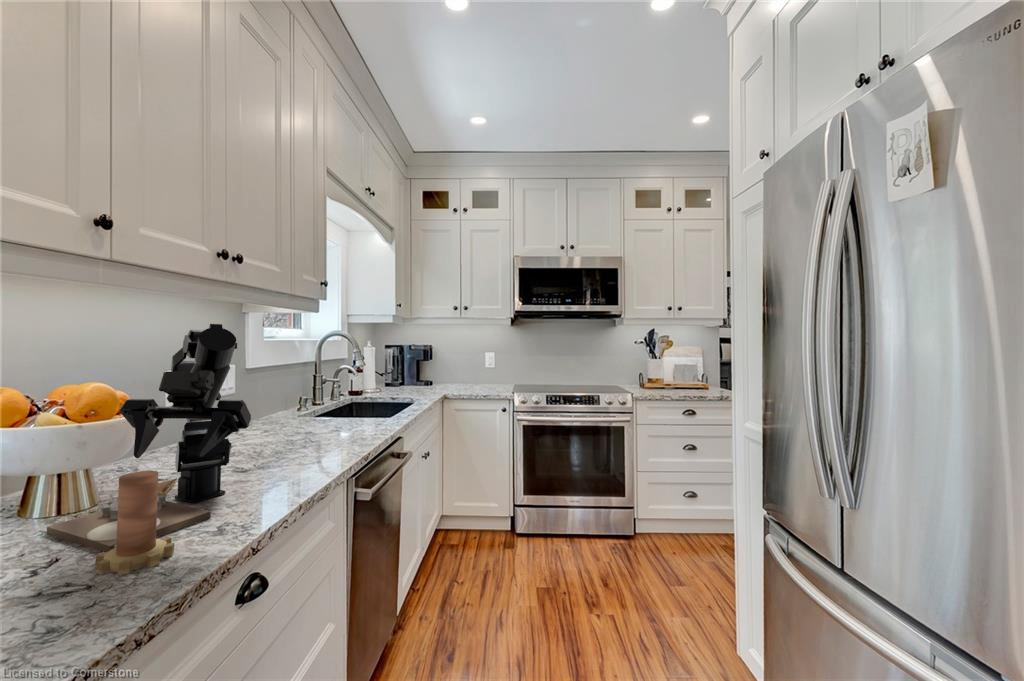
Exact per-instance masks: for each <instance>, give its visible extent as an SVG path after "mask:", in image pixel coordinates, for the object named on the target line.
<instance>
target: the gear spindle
mask: <svg viewBox="0 0 1024 681" xmlns="http://www.w3.org/2000/svg"><path fill="white" fill-rule="evenodd" d="M158 483H159V472H158V471H157V470H141V471H134V472H130V473H125V474H122V475H120V476H118V496H117V497H118V498H117V500H118V519H117V545H114V549H112V550H110V551H108V552H99V553H97V555H96V556H95V566H94V567H95V568H96V574H97V575H100V576H103V575H104V573H105V574H107V572H108V573H118V576H122V575H128V574H130V573H131V572H132V571H133V570H137V569H142V568H145V567H148V568H153V567H155V566H157V565H160V562H161V561H160V560H162V559H163V558H166V557H172V556H173V555H174V554H175V542H172V537H170V536H165V537H163V538H157V537H156V525H157V495H158ZM96 566H97V567H96Z"/></svg>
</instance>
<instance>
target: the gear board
mask: <svg viewBox="0 0 1024 681" xmlns="http://www.w3.org/2000/svg"><path fill="white" fill-rule="evenodd" d="M107 503H108V505H105V506H102V510H101V511H98V512H94V513H90V514H87V515H84V516H80V517H76V518H74V519H70V520H66V521H65V520H64V521H62V522H59V523H55V524H52V525H48V526H46V535H49V536H51V537H56V538H58V539H61V540H65V541H67V542H72V543H75V544H77V545H81V546H83V545H84V547H86V546H87V547H86V548H89V547H91V548H90V549H92V548H93V550H96V551H99V550H100V552H101V553H103V552H108V551H110V550H112V549H114V545H117V519H118V499H115V500H114V499H113V500H111V501H109V502H107ZM207 518H208V519H210V518H211V510H207V509H203V508H198V507H194V506H190V505H186V504H180V503H177V502H174V501H173V502H172V501H168V500H166V496H165V495H163V496H157V525H156V538H158V537H161V536H164V535H166V534H168V533H172V532H174V531H177V530H180V529H183V528H186V527H188V526H191V525H194V524H197V523H199V521H200V522H203V521H205V520H208V519H207ZM202 520H203V521H202Z"/></svg>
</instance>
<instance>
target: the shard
mask: <svg viewBox="0 0 1024 681" xmlns="http://www.w3.org/2000/svg"><path fill="white" fill-rule="evenodd" d="M176 481H178V478H177V477H175V478H173V479H170V480H166V481H162V482H158V495H157V496H163V495H165V497H166V496H167V493H168V492H169V491H171V490H172V489H173V488H174V487H175V485H176ZM174 484H175V485H174ZM173 486H174V487H173ZM172 487H173V488H172Z"/></svg>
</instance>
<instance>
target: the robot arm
mask: <svg viewBox="0 0 1024 681" xmlns="http://www.w3.org/2000/svg"><path fill="white" fill-rule="evenodd" d="M208 327H209V328H206V329H190V330H189V331H188V332H187V334H185V335H184V337H183V338H184V339H183V340H182V342H183V343H182V348H180V349H179V350H178V351H177V352H175V354H173V356H172V358H171V364H170V366H171V367H170V371H164V372H163V375H162V378H161V380H160V384H159V387H158V391H159V392H164V393H165V394H167V396H166V400H167V402H168V403H170V404H171V403H172V406H159V404H158V403H157V401H155V399H154V398H129V399H126V400H125V401H124V402H123V404H122V406H120V408H119V411H118V412H119V413H120V414H121V415H122V416H123V417H124V419H125V420H126V421H127V422H128V424H129V425H130V426H131V427H132V428H134V447H133V457H135V458H136V459H140V458H141V456H142V455H143V454H144V453H145V452H146V451H147V450H148V448H149V446H150V445H151V444H152V443H153V441H154V439H155V438H156V437H157V435H158V433H160V429H159V428H158V427H160V426H162V423H163V422H164V419H166V420H167V419H168V420H169V419H173V420H175V419H176V420H177V419H179V420H181V419H186V421H187V422H185V423H184V426H183V430H182V432H181V441H178V442H177V445H176V451H175V457H174V458H175V463H174V465H175V466H174V467H175V470H176V473H180V477H178V478H177V494H176V495H174V499H175V500H179V501H185V502H189V503H193V504H194V503H195V504H196V503H200V502H202V501H206V500H209V499H212V498H215V497H217V496H221V495H225V494H226V490H223V489H221V481H222V480H221V479H222V467H223V466H224V467H226V466H228V464H230V454H231V449H232V442H231V441H230V440H229V436H230V435H232V434H233V433H238V432H239V431H240V429H248V428H249V425H250V423H251V420H252V414H251V413H250V410H249V408H248V406H247V404H246V402H245V401H244V400H243V399H221V398H222V395H221V393H220V391H221V389H222V386H223V385H224V383H225V381H226V378H227V376H228V375H229V372H230V369H231V366H230V363H231V362H232V359H233V356H234V355H233V354H234V352H235V350H237V349H238V342H237V337H236V336H235V335H234V333H233V332H231V331H230V330H228V329H225V328H223V327H224V326H223V324H222V323H209V326H208ZM187 357H188V358H189V359H194V360H186V359H187ZM216 401H218V402H217V403H216V404H217V405H216V406H217V407H214V405H215V402H216Z"/></svg>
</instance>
